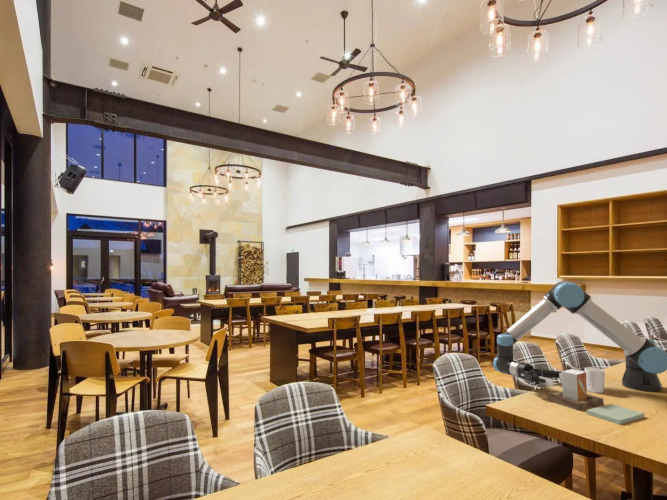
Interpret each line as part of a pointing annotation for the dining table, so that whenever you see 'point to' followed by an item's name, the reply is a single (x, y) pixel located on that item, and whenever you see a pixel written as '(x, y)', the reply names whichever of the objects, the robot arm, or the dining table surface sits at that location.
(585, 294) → the robot arm
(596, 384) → the white cup
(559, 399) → the walnut holder
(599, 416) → the board
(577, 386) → the small box
